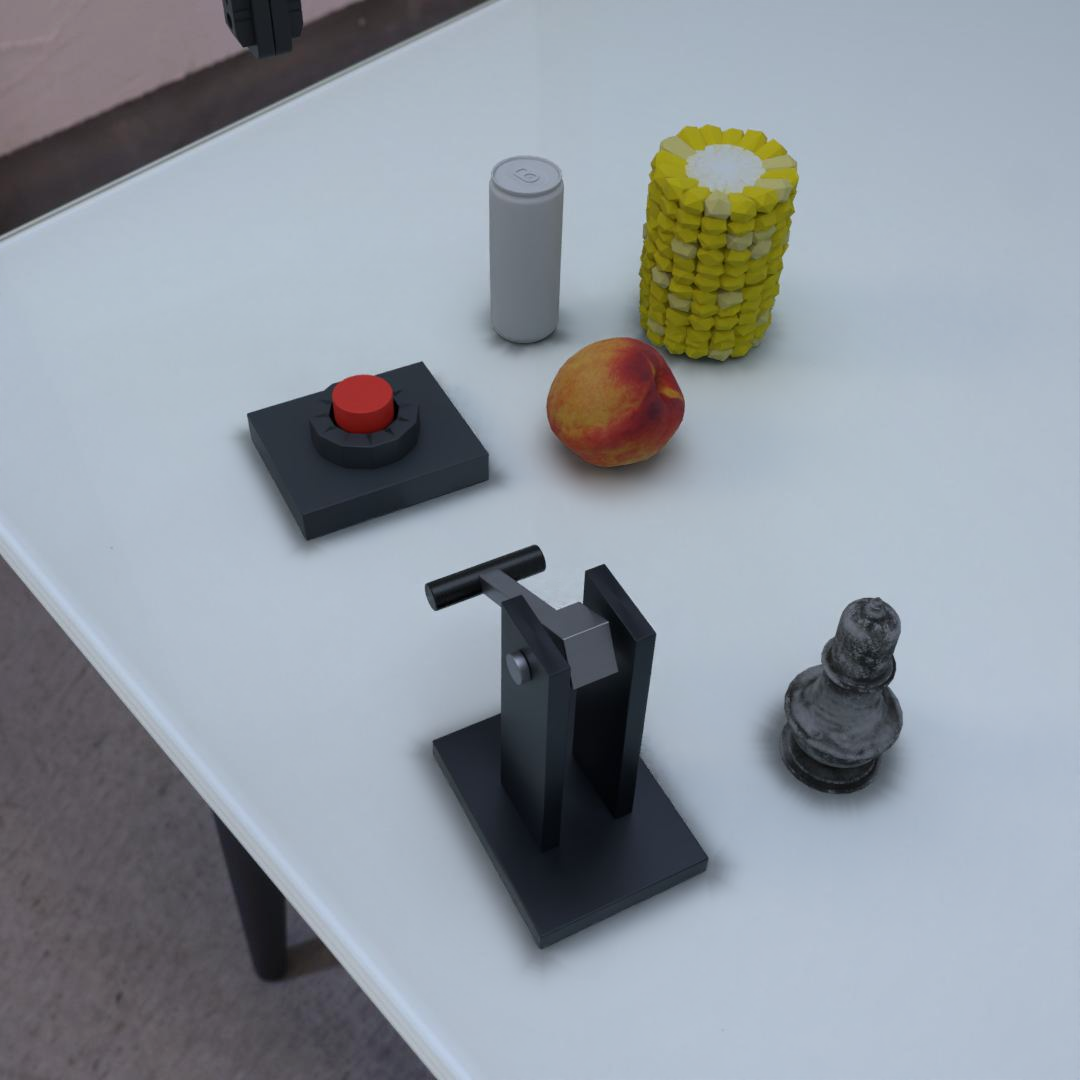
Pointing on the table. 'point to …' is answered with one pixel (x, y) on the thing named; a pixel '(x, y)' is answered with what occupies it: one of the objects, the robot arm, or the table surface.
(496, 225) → the beverage can
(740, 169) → the food
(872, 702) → the black chess piece
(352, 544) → the table surface
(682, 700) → the table surface
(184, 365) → the table surface
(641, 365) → the fruit
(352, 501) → the control block
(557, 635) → the lever
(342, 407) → the button
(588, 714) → the bracket
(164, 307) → the table surface
